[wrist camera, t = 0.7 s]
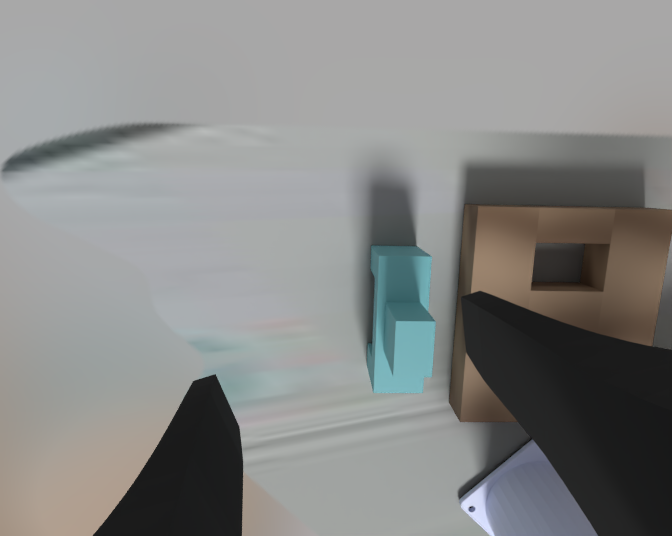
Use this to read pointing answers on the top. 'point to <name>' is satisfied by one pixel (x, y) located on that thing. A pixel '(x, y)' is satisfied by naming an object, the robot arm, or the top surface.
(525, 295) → the wooden block holder
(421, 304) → the clip
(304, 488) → the top surface
